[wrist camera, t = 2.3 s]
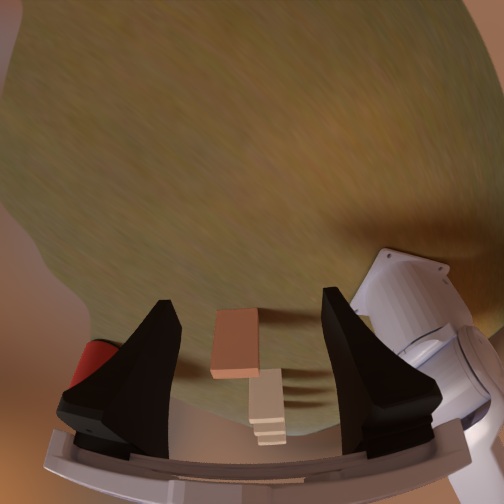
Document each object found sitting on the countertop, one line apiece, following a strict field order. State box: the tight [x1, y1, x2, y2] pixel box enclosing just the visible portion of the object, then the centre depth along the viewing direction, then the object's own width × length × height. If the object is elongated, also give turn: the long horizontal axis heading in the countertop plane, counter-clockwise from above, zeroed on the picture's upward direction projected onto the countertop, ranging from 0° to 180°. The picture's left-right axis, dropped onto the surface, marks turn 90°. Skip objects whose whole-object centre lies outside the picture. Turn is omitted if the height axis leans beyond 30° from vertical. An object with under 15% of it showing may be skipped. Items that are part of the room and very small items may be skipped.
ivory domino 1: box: [249, 368, 284, 424], centre depth 32 cm, size 2×4×7 cm, turn 97°
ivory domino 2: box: [254, 387, 285, 436], centre depth 35 cm, size 2×4×7 cm, turn 97°
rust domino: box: [210, 308, 260, 379], centre depth 26 cm, size 2×4×7 cm, turn 97°
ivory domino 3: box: [258, 401, 286, 445], centre depth 38 cm, size 2×4×7 cm, turn 97°
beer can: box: [68, 340, 119, 426], centre depth 29 cm, size 7×7×12 cm
